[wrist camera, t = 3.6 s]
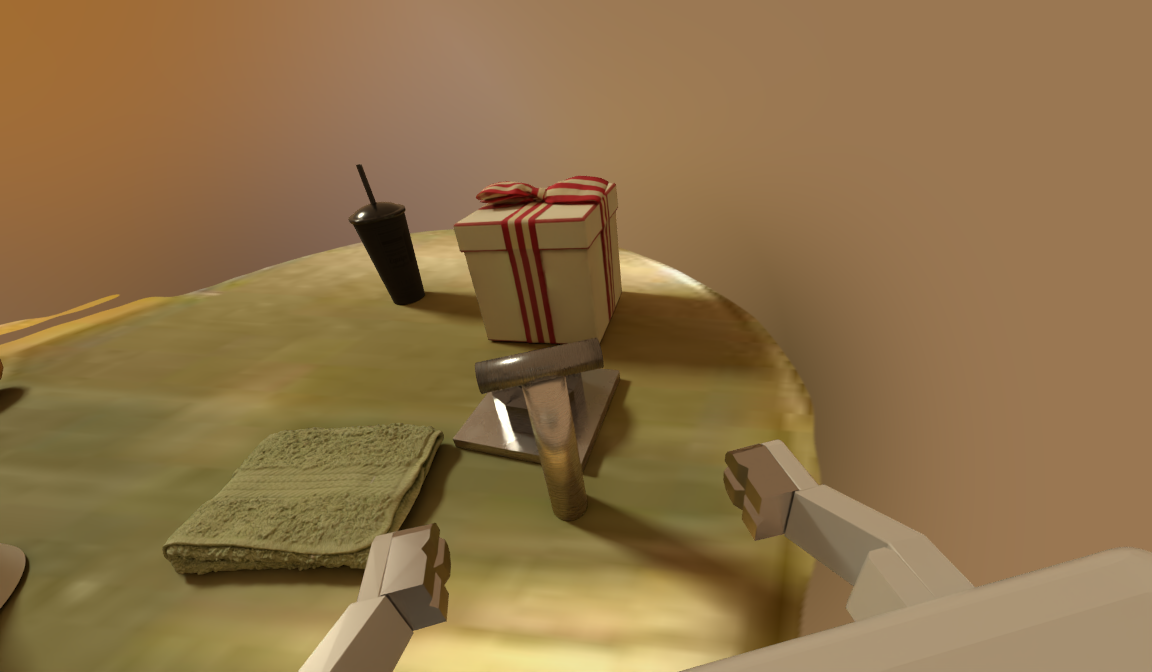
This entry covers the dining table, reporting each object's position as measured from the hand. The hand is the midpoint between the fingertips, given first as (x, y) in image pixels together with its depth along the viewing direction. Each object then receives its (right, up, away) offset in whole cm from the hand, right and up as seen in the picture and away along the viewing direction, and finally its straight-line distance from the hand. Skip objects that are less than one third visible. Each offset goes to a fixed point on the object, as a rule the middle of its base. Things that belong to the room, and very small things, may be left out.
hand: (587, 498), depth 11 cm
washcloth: (-21, -9, +23) cm, 32 cm away
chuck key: (-1, -8, +19) cm, 21 cm away
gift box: (-3, +8, +45) cm, 46 cm away
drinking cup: (-27, +10, +55) cm, 62 cm away
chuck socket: (-3, -3, +28) cm, 28 cm away
